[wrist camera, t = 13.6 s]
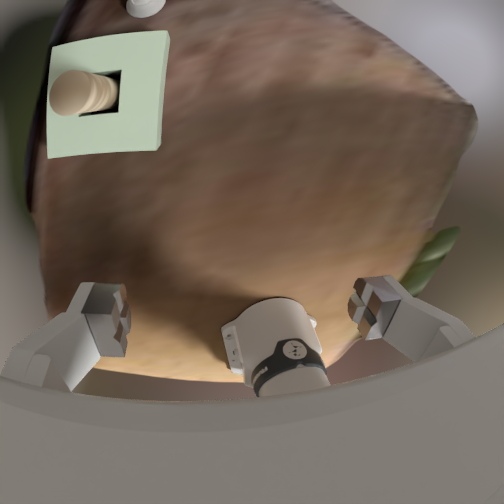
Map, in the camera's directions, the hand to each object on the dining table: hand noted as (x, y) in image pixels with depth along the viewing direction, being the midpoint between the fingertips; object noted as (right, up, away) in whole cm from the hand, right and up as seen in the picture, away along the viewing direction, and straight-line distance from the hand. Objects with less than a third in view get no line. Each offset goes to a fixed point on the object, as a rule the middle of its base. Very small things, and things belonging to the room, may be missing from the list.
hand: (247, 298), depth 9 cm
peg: (-17, +21, +17) cm, 32 cm away
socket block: (-17, +21, +17) cm, 32 cm away
